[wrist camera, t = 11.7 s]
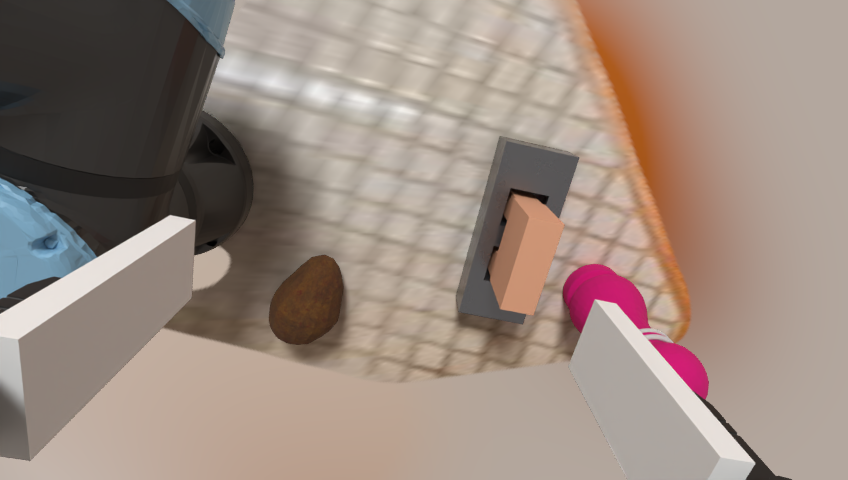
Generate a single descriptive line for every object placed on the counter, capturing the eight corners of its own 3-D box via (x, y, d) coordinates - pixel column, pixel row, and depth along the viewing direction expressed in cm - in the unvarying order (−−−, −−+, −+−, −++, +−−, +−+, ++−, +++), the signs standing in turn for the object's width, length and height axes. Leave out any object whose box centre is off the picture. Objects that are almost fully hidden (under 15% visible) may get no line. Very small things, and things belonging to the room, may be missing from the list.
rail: (455, 296, 50) (458, 312, 47) (499, 136, 44) (506, 141, 41) (515, 308, 51) (522, 324, 47) (567, 151, 45) (579, 157, 41)
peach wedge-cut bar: (483, 263, 48) (500, 309, 39) (505, 187, 45) (529, 217, 36) (510, 268, 49) (533, 315, 39) (534, 193, 46) (564, 224, 36)
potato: (363, 266, 49) (355, 296, 42) (324, 339, 52) (310, 377, 45) (304, 237, 48) (286, 263, 41) (266, 313, 51) (244, 349, 44)
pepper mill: (635, 291, 50) (765, 421, 32) (581, 329, 52) (675, 473, 33) (599, 246, 48) (716, 356, 30) (545, 286, 50) (623, 415, 31)
